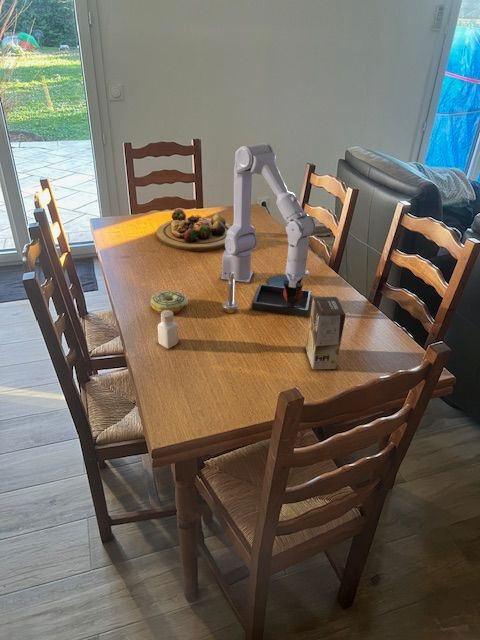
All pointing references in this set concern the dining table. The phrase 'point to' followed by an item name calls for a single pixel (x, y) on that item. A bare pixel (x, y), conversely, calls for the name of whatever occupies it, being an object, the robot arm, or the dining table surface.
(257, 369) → the dining table surface
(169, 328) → the salt shaker
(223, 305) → the screw
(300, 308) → the tray
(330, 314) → the coffee box
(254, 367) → the dining table surface
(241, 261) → the robot arm
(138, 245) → the dining table surface
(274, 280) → the mat
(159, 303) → the decorated donut
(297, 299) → the onion
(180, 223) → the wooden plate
